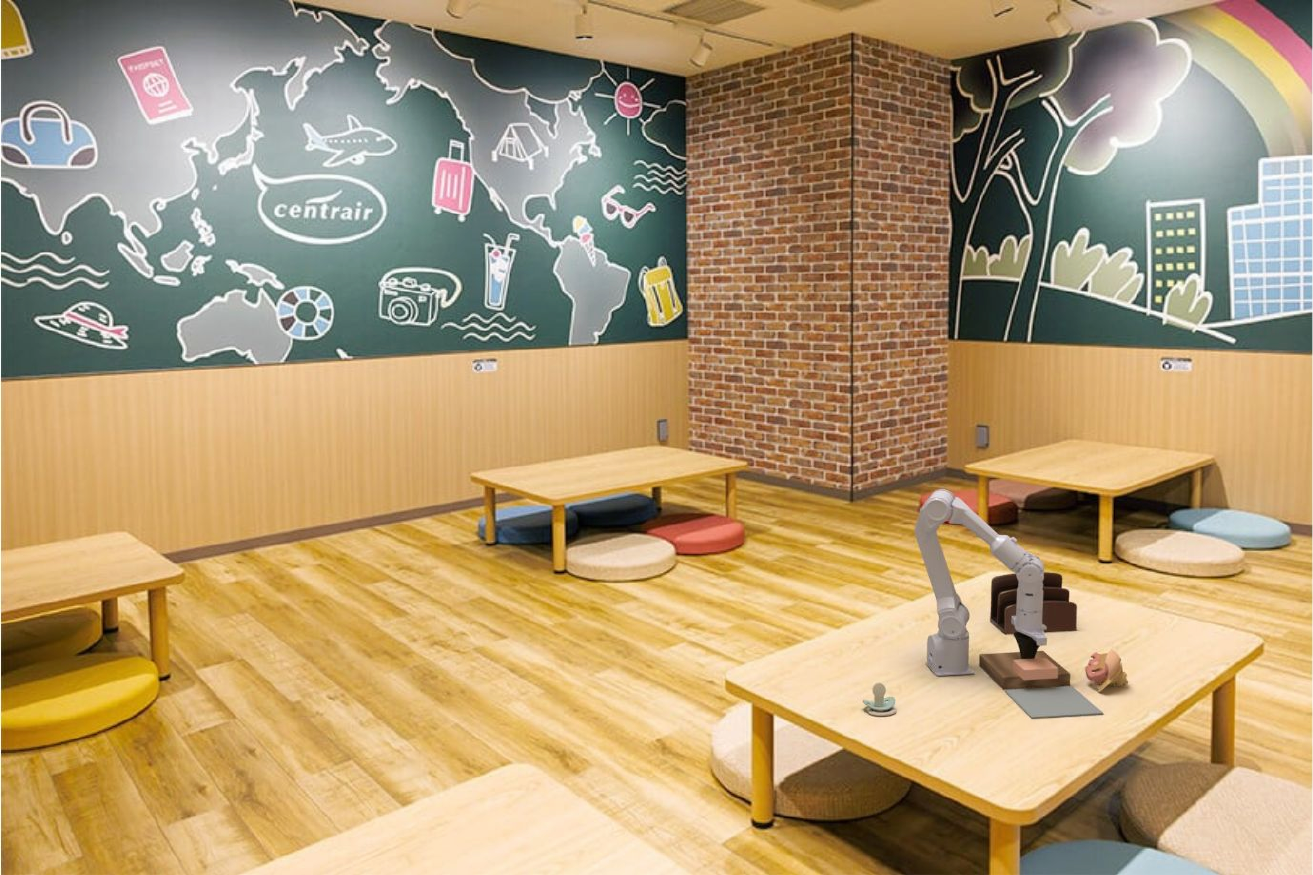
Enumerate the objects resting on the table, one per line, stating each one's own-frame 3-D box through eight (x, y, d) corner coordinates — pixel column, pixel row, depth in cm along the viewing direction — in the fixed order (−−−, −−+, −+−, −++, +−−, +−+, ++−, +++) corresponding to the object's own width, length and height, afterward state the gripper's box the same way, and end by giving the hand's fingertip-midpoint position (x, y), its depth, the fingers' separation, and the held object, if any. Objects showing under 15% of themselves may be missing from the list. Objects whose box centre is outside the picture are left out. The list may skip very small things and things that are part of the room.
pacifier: (901, 716, 215) (890, 703, 221) (902, 690, 213) (891, 678, 219) (869, 719, 214) (859, 707, 219) (870, 693, 212) (860, 681, 218)
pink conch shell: (1120, 679, 231) (1144, 663, 223) (1107, 711, 225) (1131, 696, 217) (1085, 656, 233) (1108, 639, 225) (1072, 687, 227) (1094, 671, 219)
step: (1002, 689, 226) (1003, 677, 225) (979, 665, 240) (979, 654, 239) (1069, 685, 227) (1070, 673, 226) (1042, 662, 241) (1042, 650, 240)
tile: (1023, 680, 223) (1024, 669, 223) (1012, 669, 229) (1012, 659, 229) (1057, 678, 224) (1058, 668, 224) (1045, 667, 230) (1045, 657, 229)
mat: (1031, 718, 211) (1031, 717, 211) (1004, 691, 225) (1004, 689, 225) (1103, 714, 212) (1103, 712, 212) (1071, 687, 226) (1072, 685, 226)
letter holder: (989, 622, 269) (990, 572, 266) (1059, 618, 270) (1061, 569, 267) (1004, 635, 259) (1005, 584, 257) (1076, 631, 260) (1079, 580, 258)
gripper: (1060, 618, 221) (1058, 674, 224) (1032, 597, 236) (1030, 650, 238) (1030, 620, 221) (1028, 676, 223) (1003, 598, 235) (1002, 652, 237)
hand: (1027, 663), depth 231 cm, fingers closed
